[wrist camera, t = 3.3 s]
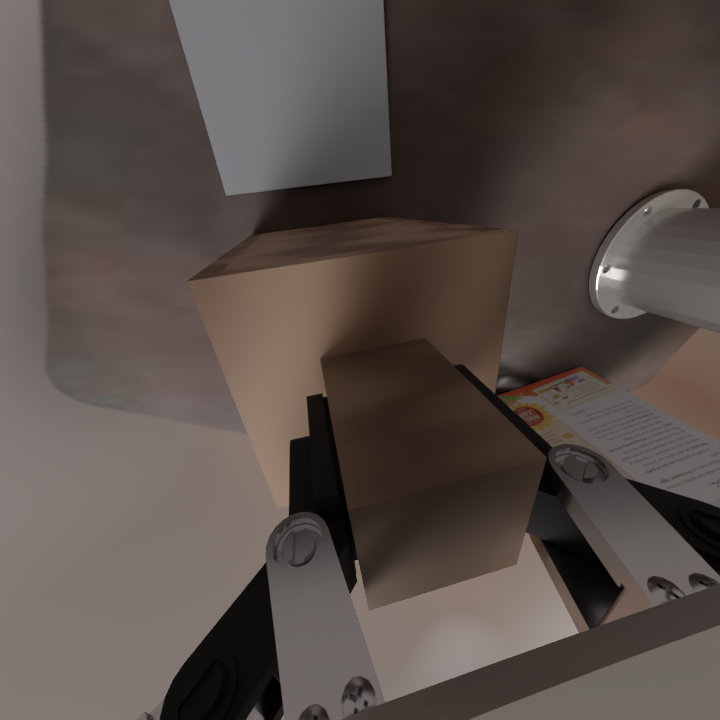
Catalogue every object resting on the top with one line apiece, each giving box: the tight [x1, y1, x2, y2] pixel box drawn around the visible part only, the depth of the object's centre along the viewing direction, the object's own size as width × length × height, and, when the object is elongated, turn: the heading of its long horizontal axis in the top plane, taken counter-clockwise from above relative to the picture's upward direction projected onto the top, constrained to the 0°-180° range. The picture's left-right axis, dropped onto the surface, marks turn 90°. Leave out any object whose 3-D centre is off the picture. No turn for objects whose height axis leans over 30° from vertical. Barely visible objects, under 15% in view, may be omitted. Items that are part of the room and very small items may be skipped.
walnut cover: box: [187, 217, 547, 610], centre depth 16 cm, size 11×11×22 cm
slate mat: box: [169, 0, 392, 196], centre depth 18 cm, size 12×12×1 cm
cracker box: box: [498, 367, 720, 508], centre depth 28 cm, size 14×6×21 cm, turn 103°
